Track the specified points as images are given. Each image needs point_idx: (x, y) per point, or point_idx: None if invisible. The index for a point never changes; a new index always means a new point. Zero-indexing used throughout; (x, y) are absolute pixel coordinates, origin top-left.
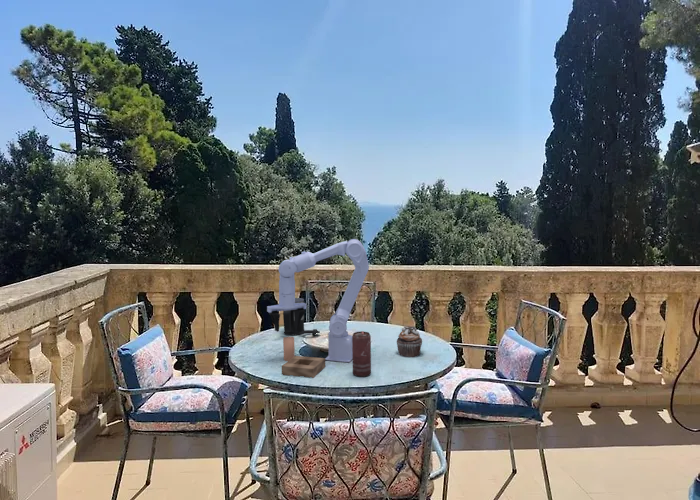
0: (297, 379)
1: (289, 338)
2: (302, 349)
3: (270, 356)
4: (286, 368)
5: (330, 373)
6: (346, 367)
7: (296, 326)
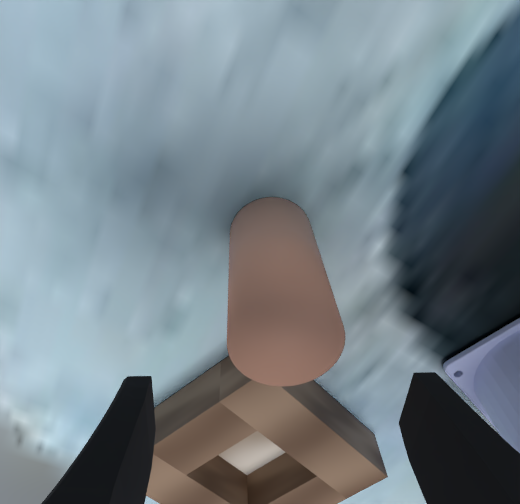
0: None
1: (284, 359)
2: (504, 52)
3: (166, 82)
4: None
5: None
6: None
7: (413, 445)
